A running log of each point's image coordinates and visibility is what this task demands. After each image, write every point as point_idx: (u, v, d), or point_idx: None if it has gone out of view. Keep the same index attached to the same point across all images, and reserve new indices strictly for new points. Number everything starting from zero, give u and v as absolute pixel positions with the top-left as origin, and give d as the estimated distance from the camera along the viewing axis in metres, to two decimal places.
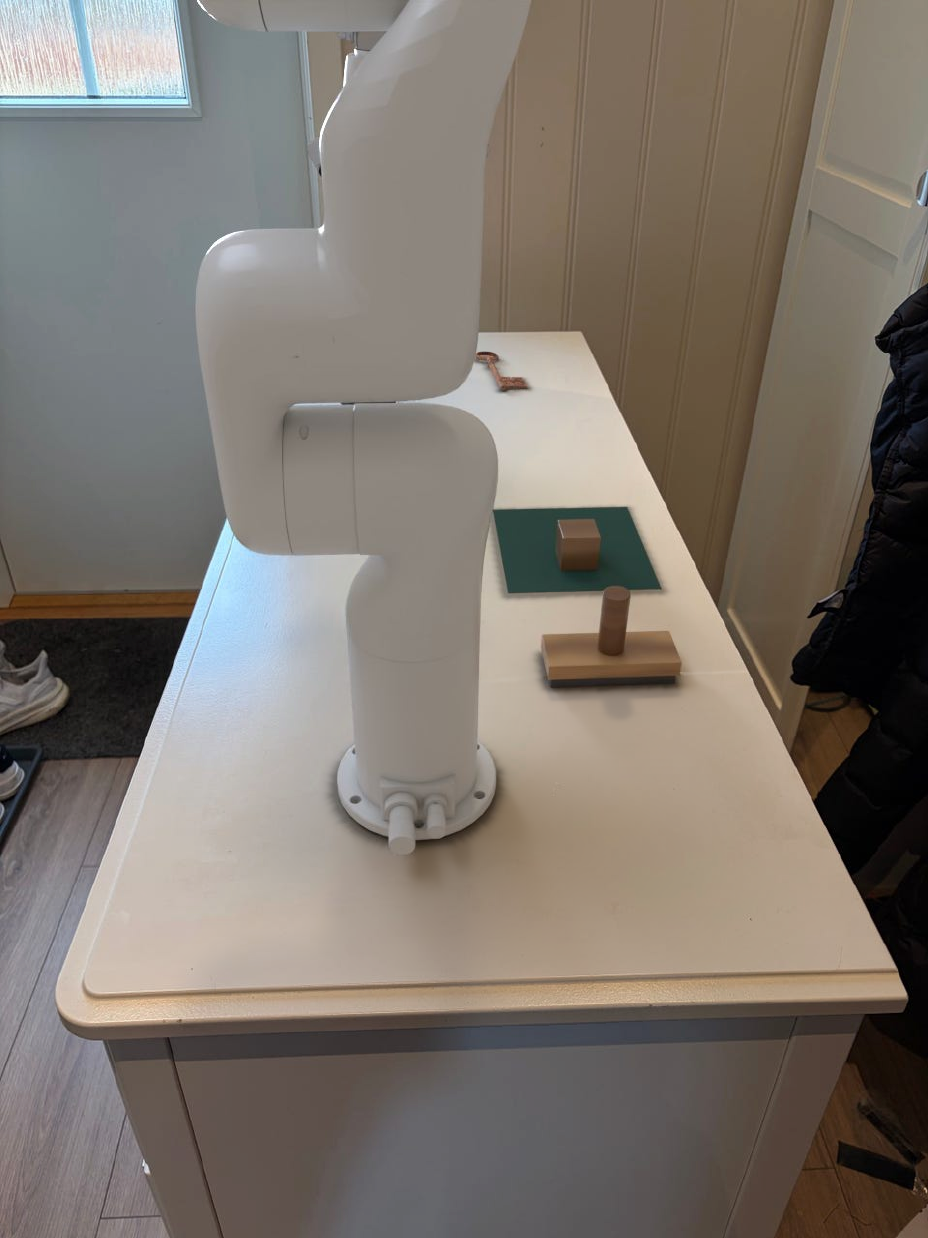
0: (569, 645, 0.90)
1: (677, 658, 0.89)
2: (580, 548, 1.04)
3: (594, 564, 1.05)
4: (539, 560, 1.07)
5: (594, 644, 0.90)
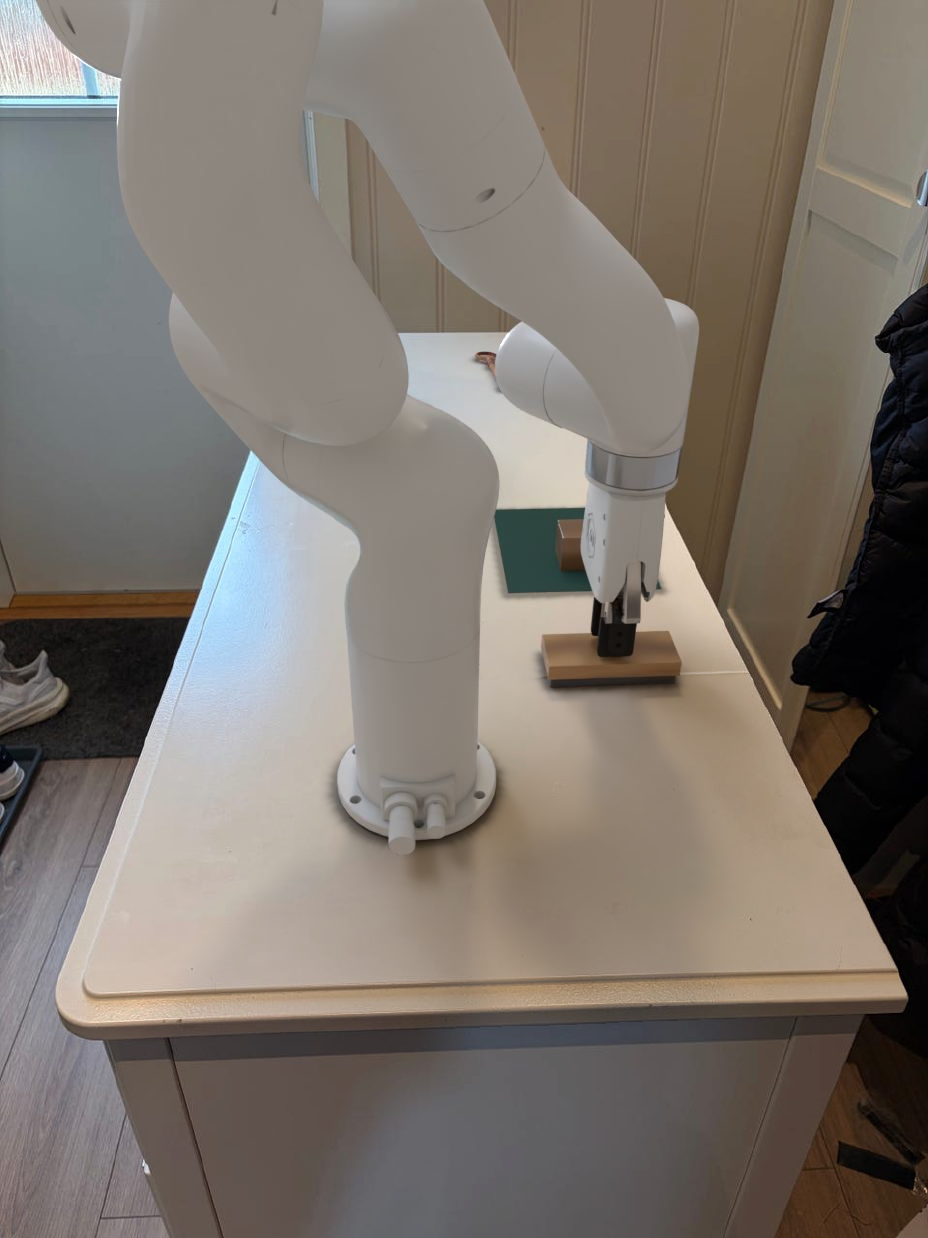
0: (569, 645, 0.90)
1: (677, 658, 0.89)
2: (580, 548, 1.04)
3: None
4: (539, 560, 1.07)
5: (594, 644, 0.90)
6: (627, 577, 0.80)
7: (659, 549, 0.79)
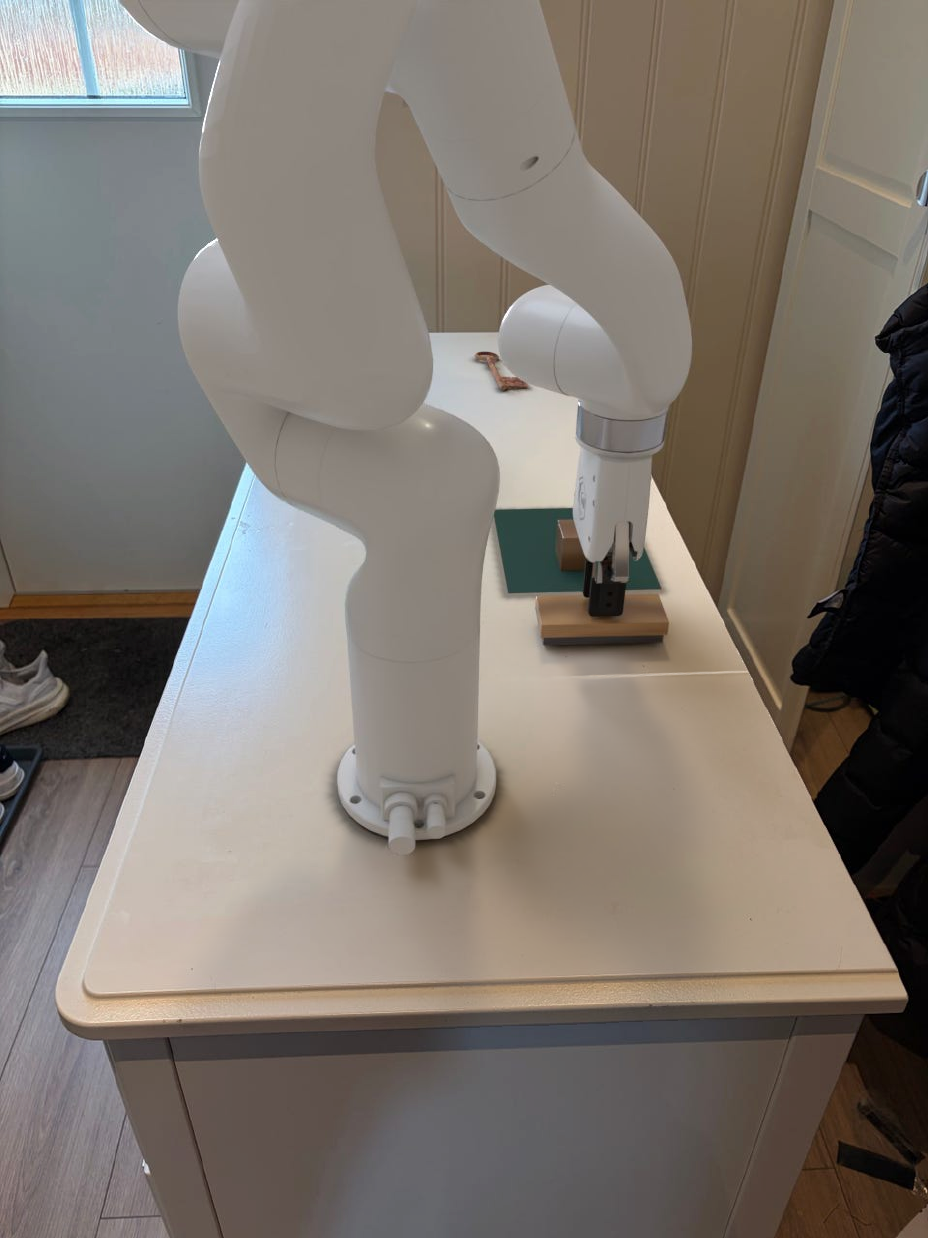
0: (561, 605, 0.94)
1: (665, 618, 0.93)
2: (580, 548, 1.04)
3: None
4: (539, 560, 1.07)
5: (586, 605, 0.94)
6: (616, 537, 0.84)
7: (646, 509, 0.83)
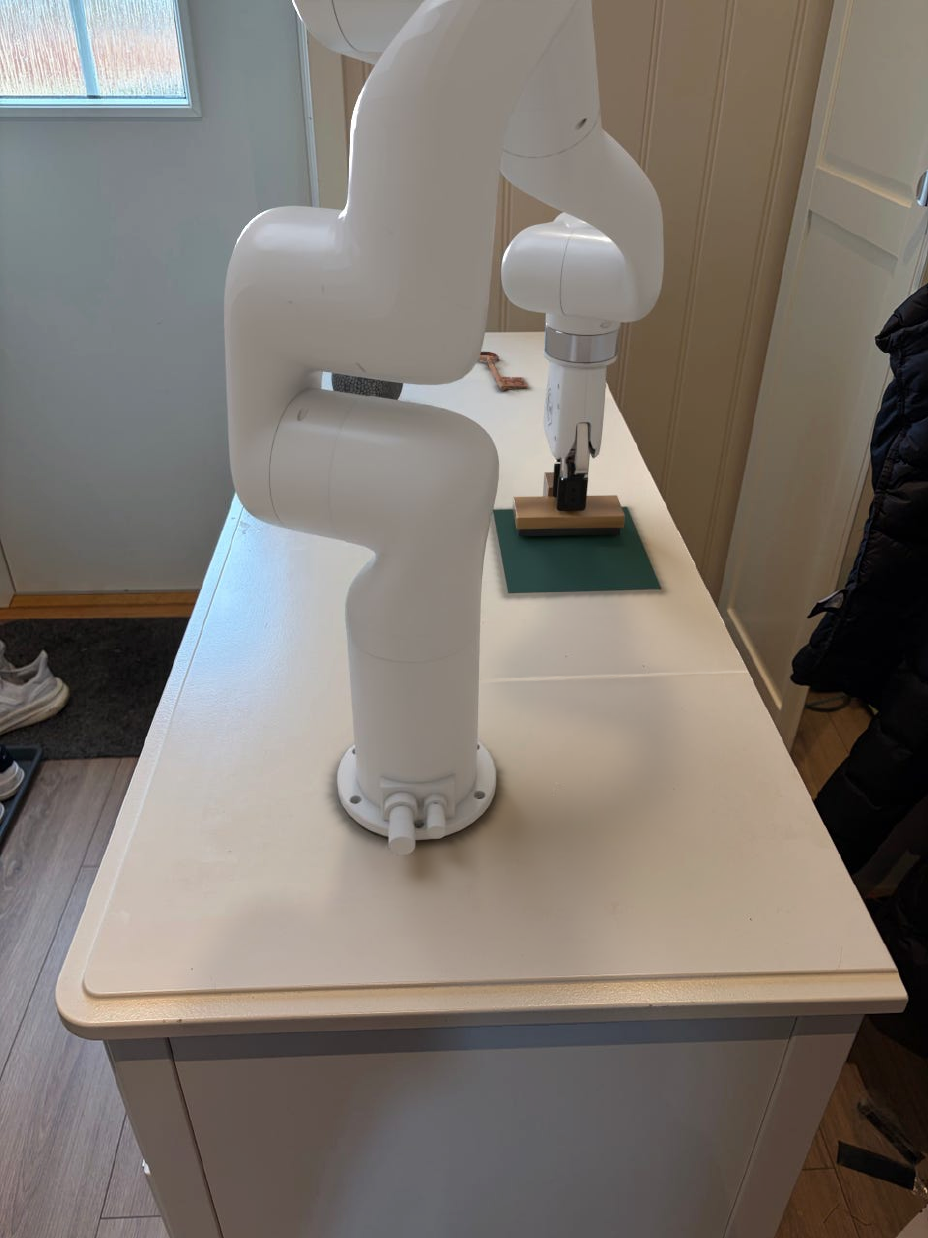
0: (534, 503, 1.11)
1: (621, 513, 1.10)
2: None
3: None
4: (539, 560, 1.07)
5: (555, 503, 1.11)
6: (577, 436, 1.01)
7: (602, 412, 1.00)
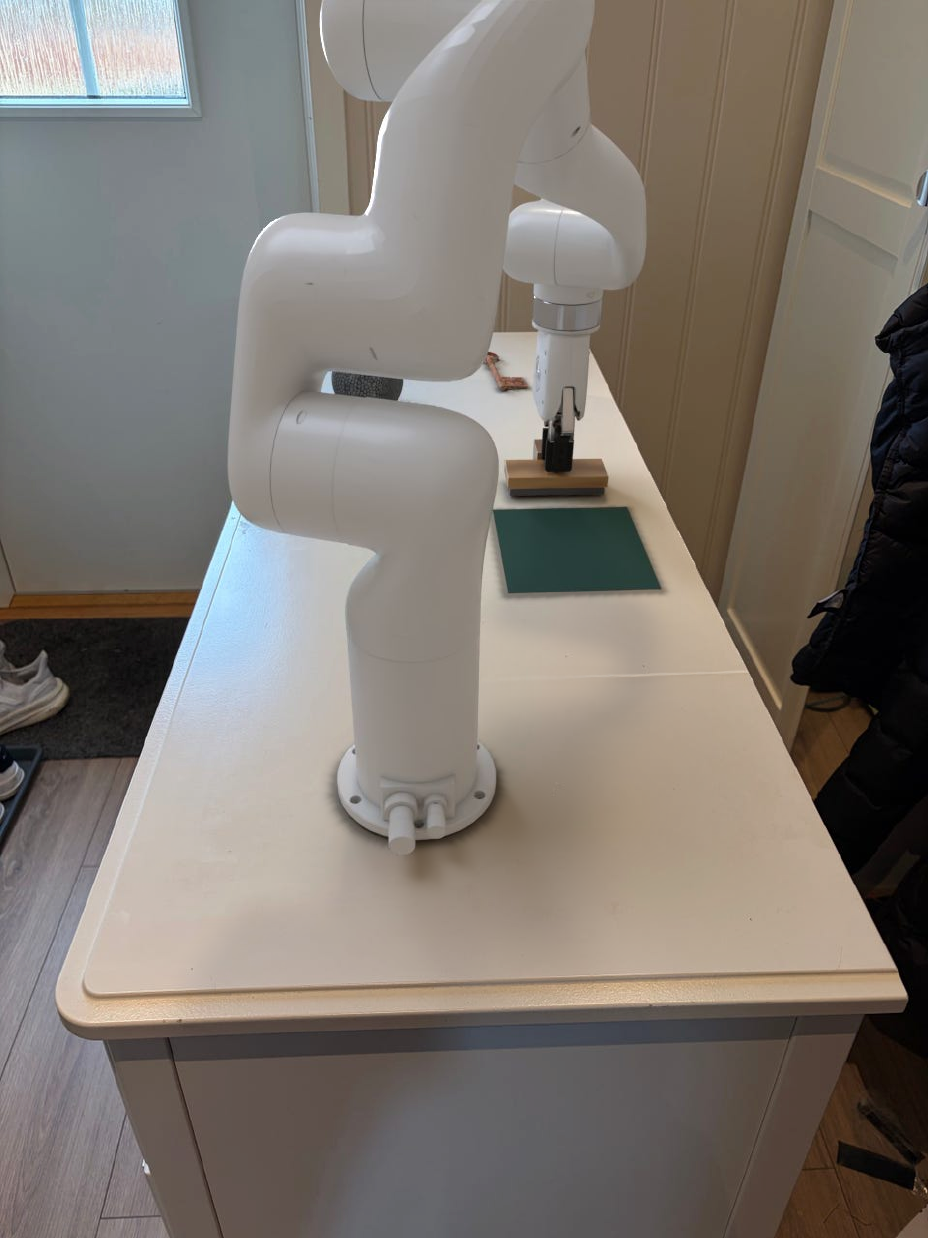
0: (524, 465, 1.19)
1: (605, 474, 1.18)
2: None
3: None
4: (539, 560, 1.07)
5: (544, 465, 1.19)
6: (563, 399, 1.09)
7: (585, 377, 1.08)
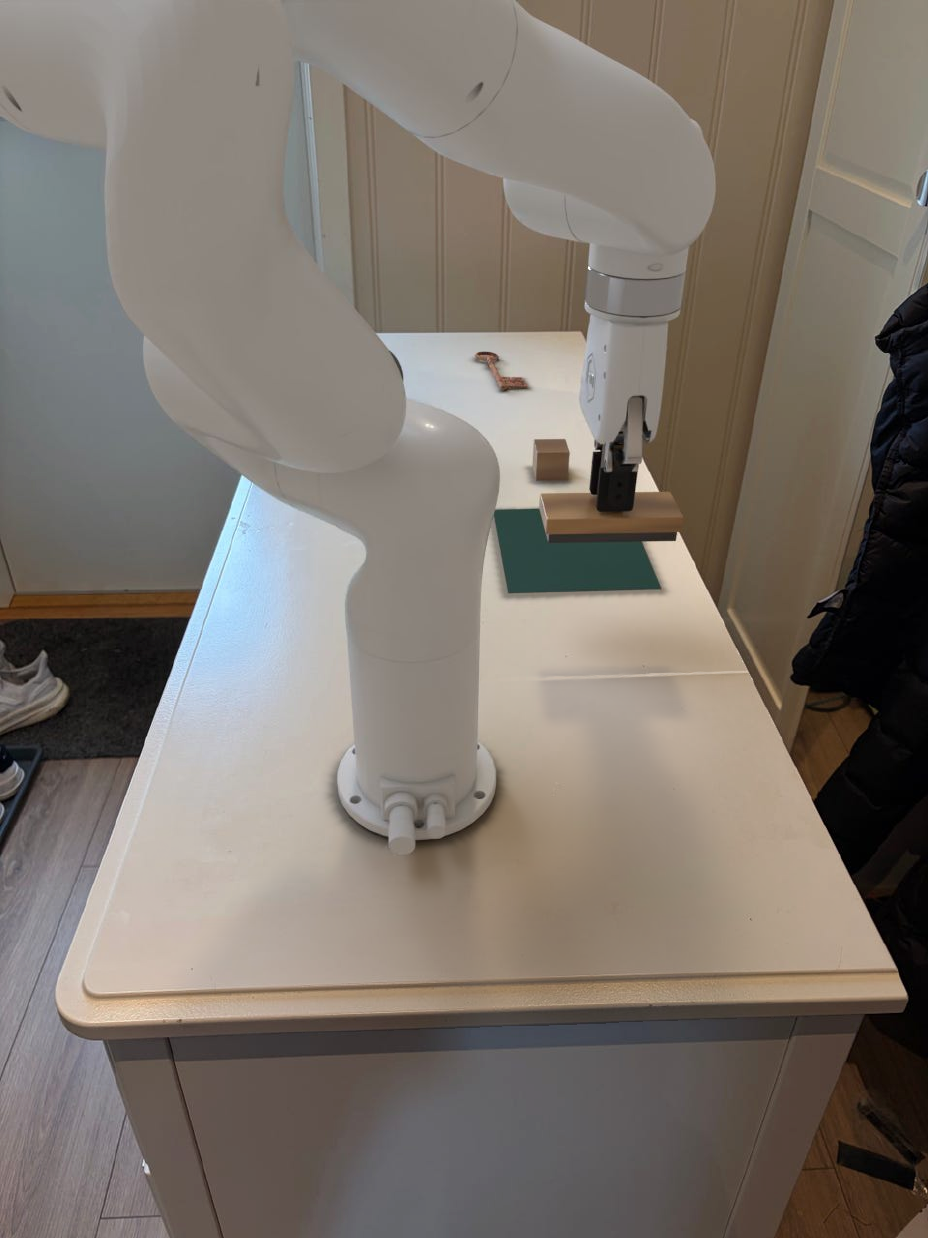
0: (568, 502, 0.88)
1: (679, 514, 0.86)
2: (552, 461, 1.21)
3: (564, 476, 1.23)
4: (539, 560, 1.07)
5: (594, 501, 0.88)
6: (628, 414, 0.78)
7: (661, 382, 0.77)
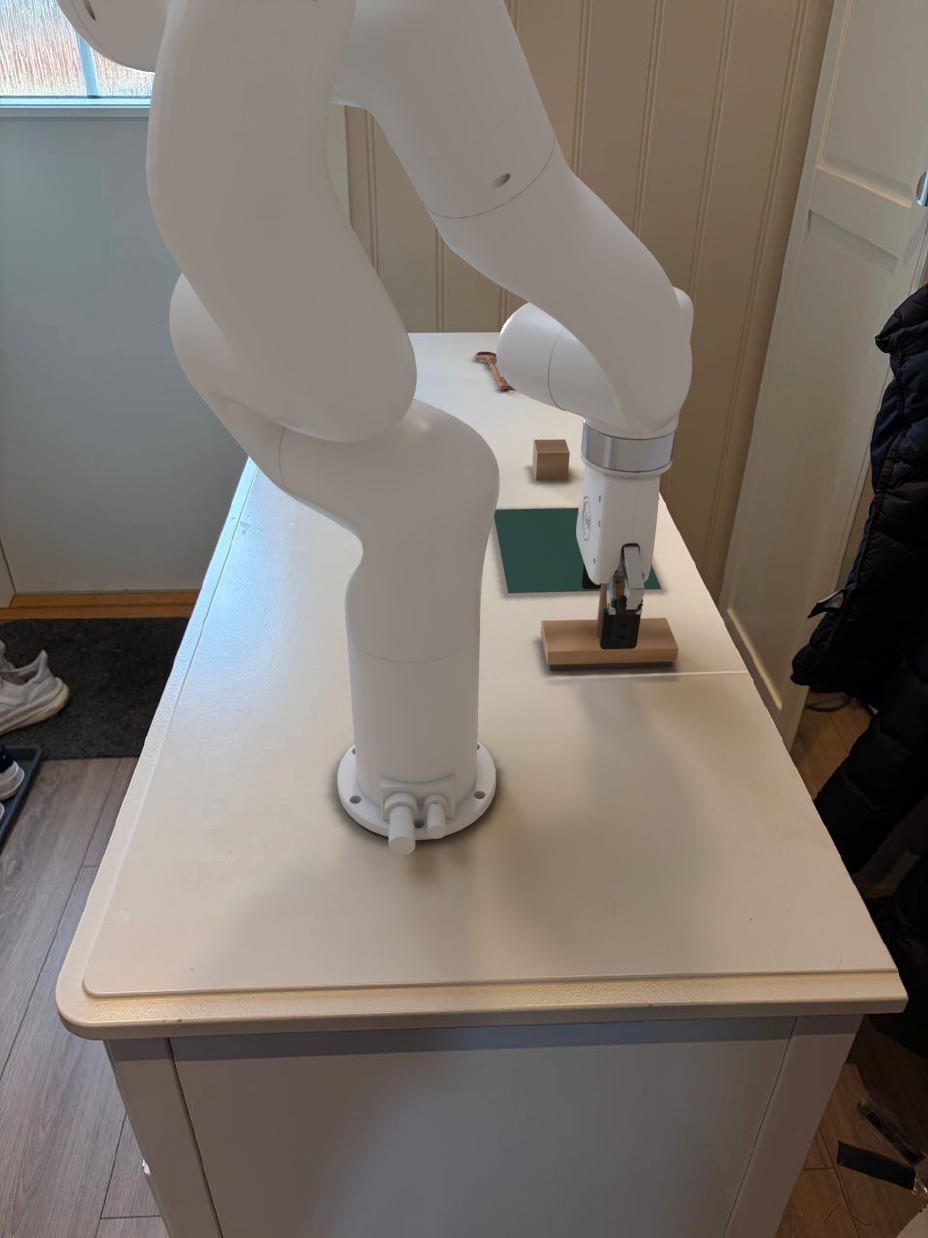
0: (568, 631, 0.92)
1: (674, 644, 0.90)
2: (552, 462, 1.21)
3: (564, 477, 1.23)
4: (539, 560, 1.07)
5: (593, 630, 0.92)
6: (622, 558, 0.81)
7: (653, 531, 0.80)
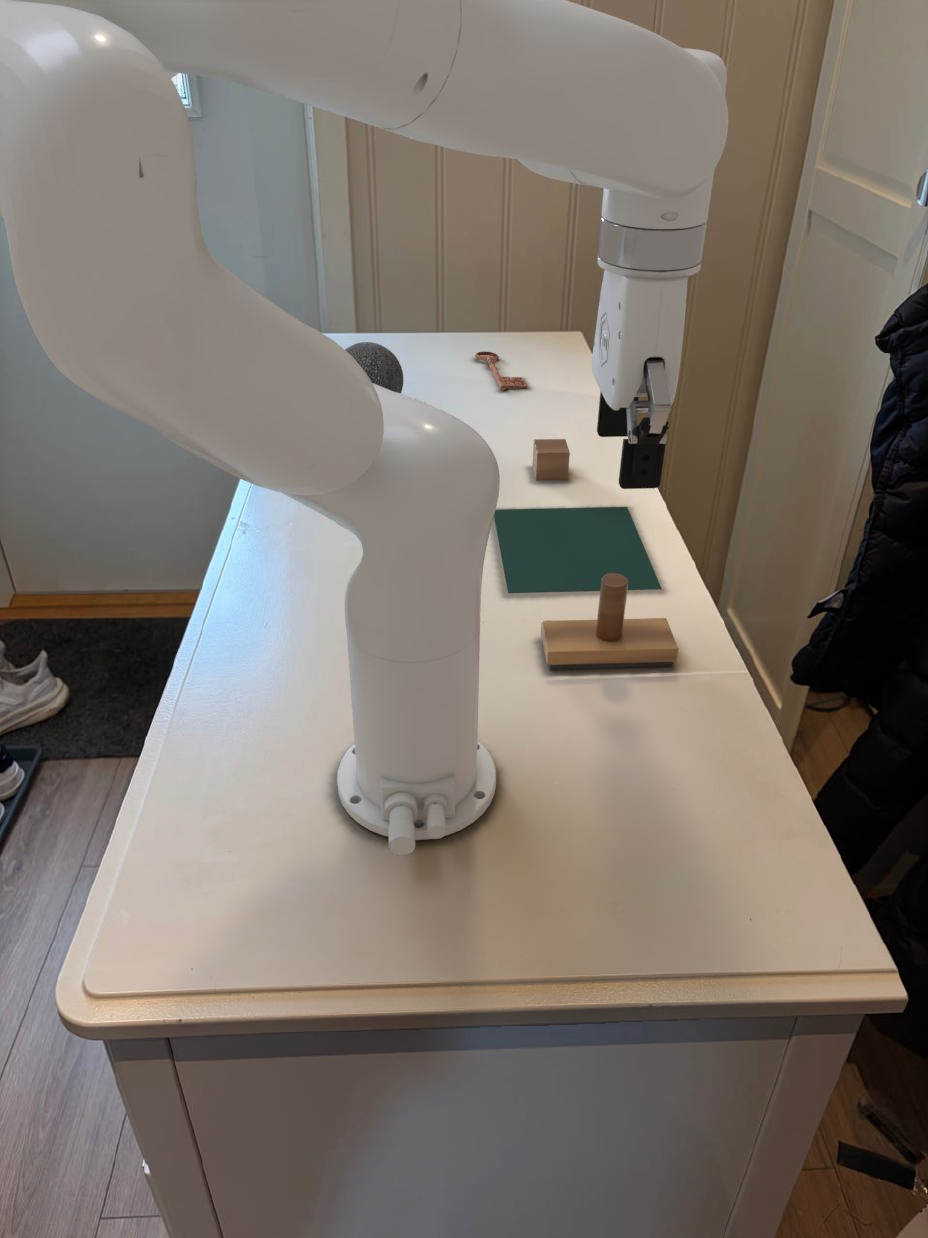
0: (568, 631, 0.92)
1: (674, 645, 0.90)
2: (552, 461, 1.21)
3: (564, 476, 1.23)
4: (539, 560, 1.07)
5: (593, 630, 0.92)
6: (644, 377, 0.72)
7: (680, 343, 0.71)
